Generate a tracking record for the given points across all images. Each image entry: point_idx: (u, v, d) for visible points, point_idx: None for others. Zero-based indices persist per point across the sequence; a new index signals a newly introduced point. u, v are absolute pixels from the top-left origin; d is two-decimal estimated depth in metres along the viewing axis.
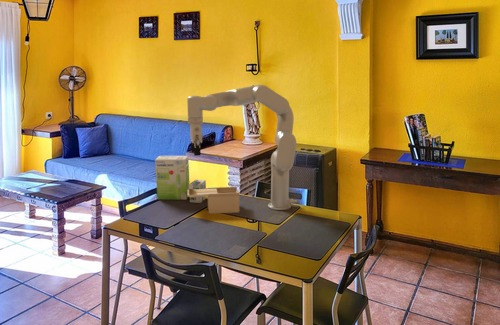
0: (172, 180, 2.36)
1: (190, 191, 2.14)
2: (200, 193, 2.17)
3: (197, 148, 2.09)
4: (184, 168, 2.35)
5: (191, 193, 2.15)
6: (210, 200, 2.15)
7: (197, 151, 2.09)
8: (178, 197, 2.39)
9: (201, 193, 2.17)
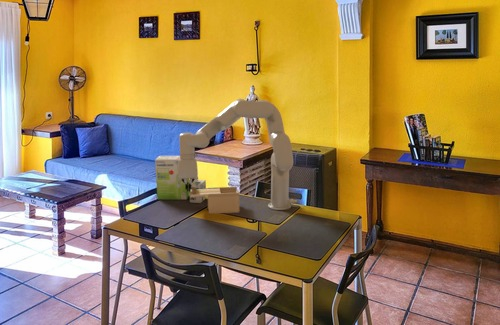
0: (172, 180, 2.36)
1: (193, 191, 2.15)
2: (203, 193, 2.17)
3: None
4: None
5: (194, 193, 2.15)
6: (210, 200, 2.15)
7: None
8: (178, 197, 2.39)
9: (204, 193, 2.17)
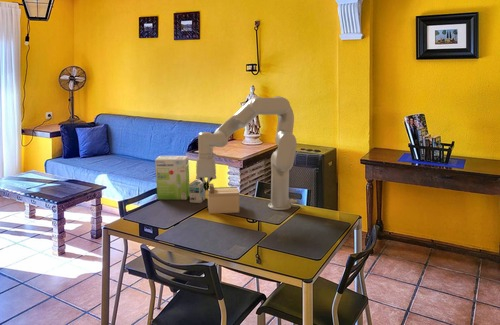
0: (172, 180, 2.36)
1: (211, 190, 2.16)
2: (221, 192, 2.18)
3: (209, 182, 2.19)
4: (184, 168, 2.35)
5: (212, 192, 2.16)
6: (210, 200, 2.15)
7: None
8: (178, 197, 2.39)
9: (222, 192, 2.18)
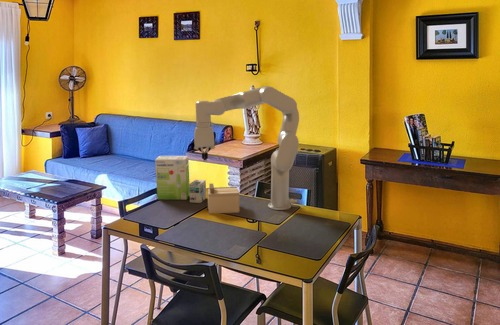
0: (172, 180, 2.36)
1: (211, 190, 2.16)
2: (221, 192, 2.18)
3: (207, 152, 2.17)
4: (184, 168, 2.35)
5: (212, 192, 2.16)
6: (210, 200, 2.15)
7: (207, 155, 2.17)
8: (178, 197, 2.39)
9: (222, 192, 2.18)
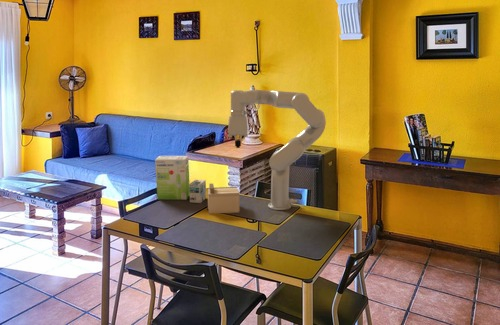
0: (172, 180, 2.36)
1: (211, 190, 2.16)
2: (221, 192, 2.18)
3: (240, 140, 2.25)
4: (184, 168, 2.35)
5: (212, 192, 2.16)
6: (210, 200, 2.15)
7: (240, 143, 2.25)
8: (178, 197, 2.39)
9: (222, 192, 2.18)
